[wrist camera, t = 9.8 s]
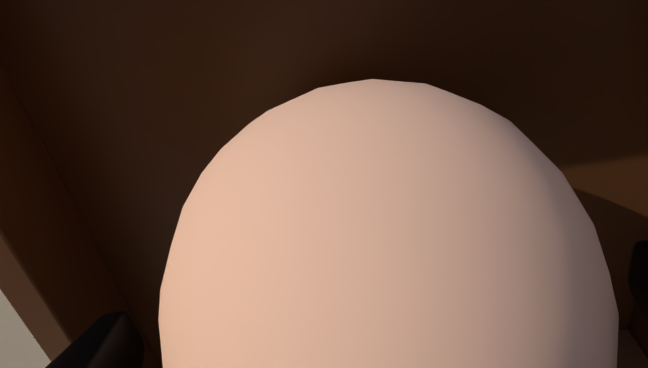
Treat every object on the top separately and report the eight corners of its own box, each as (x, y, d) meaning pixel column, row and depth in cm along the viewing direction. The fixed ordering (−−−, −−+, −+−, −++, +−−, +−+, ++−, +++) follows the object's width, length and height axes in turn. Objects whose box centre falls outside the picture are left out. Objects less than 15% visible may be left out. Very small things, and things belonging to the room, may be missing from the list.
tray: (780, -297, 8) (990, -364, 6) (643, 326, 16) (705, 419, 13) (-107, -102, 10) (-264, -84, 7) (160, 385, 18) (131, 478, 15)
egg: (552, 222, 13) (818, 650, 6) (305, 319, 15) (291, 734, 8) (448, -48, 10) (779, 220, 3) (144, 120, 12) (-129, 541, 5)
